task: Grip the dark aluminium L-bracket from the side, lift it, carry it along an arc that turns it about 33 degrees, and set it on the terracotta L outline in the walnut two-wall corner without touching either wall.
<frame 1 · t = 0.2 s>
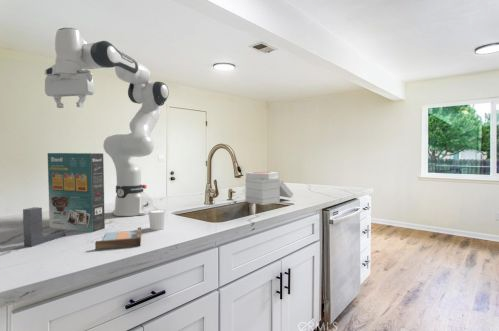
hand: (69, 107, 115), 48 cm above the worktop, tool pointing down, fingers open, 8 cm apart
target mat: (121, 241, 101), on the worktop
corner walls: (121, 241, 101), on the worktop
cake mix box: (77, 228, 119), on the worktop
bracket: (33, 244, 98), on the worktop
white cylinder: (157, 228, 119), on the worktop
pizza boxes: (268, 201, 186), on the worktop
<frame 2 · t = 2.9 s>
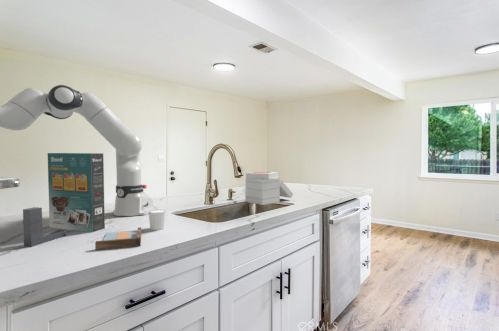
hand: (2, 185, 100), 19 cm above the worktop, tool horizontal, fingers open, 8 cm apart
nothing on the worktop moved.
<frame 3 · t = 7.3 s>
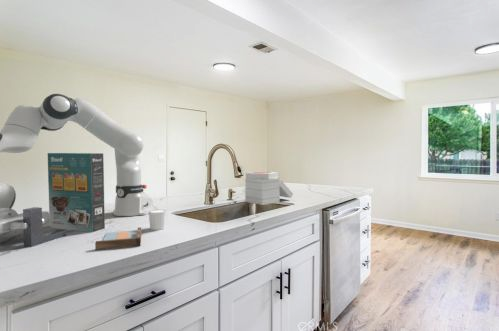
hand: (35, 223, 97), 7 cm above the worktop, tool horizontal, fingers closed on bracket, 4 cm apart
bracket: (33, 244, 98), on the worktop, touching gripper
everything else where it was.
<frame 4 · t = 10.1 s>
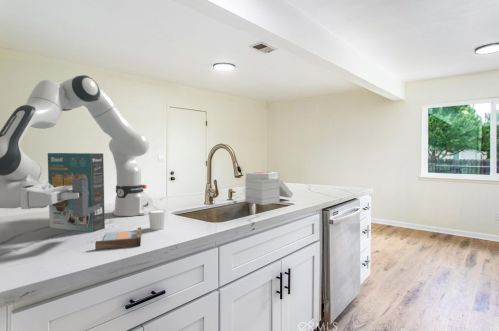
hand: (83, 194, 97), 17 cm above the worktop, tool horizontal, fingers closed on bracket, 4 cm apart
bracket: (81, 215, 98), point 10 cm above the worktop, touching gripper
everything else where it was.
when the fingers open (9 cm above the worktop, at t = 13.4 s): bracket drops 1 cm, resting on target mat.
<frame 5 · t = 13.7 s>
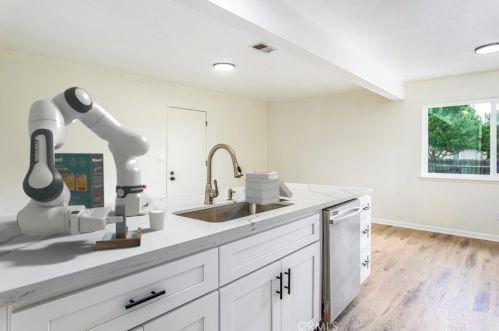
hand: (123, 216, 101), 9 cm above the worktop, tool horizontal, fingers open, 7 cm apart
bracket: (121, 240, 101), point 1 cm above the worktop, touching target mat
everything else where it was.
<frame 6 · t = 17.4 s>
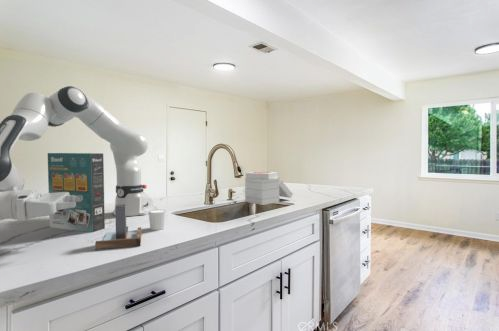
hand: (79, 201, 97), 15 cm above the worktop, tool horizontal, fingers open, 8 cm apart
nothing on the worktop moved.
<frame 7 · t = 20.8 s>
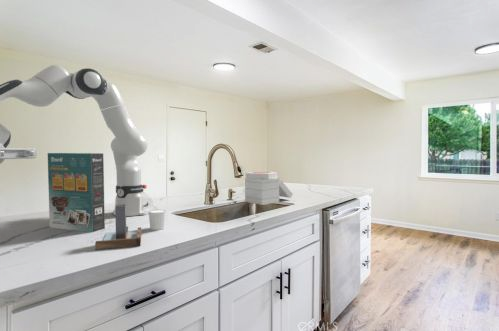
hand: (17, 153, 96), 30 cm above the worktop, tool horizontal, fingers open, 8 cm apart
nothing on the worktop moved.
at the end: bracket 0.1 cm from the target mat (horizontally); bracket tilted 0°; bracket touching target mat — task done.
